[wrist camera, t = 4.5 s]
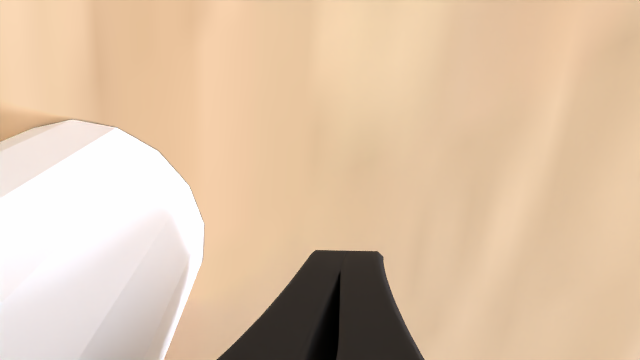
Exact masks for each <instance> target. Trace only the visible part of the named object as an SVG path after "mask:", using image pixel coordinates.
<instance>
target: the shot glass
mask: <svg viewBox="0 0 640 360" xmlns="http://www.w3.org/2000/svg"><path fill="white" fill-rule="evenodd" d="M203 236H204V223H203V221H202V218H201V216H200V213H199V210H198V208H197V205H196V203H195V200H194V197H193V195H192V192H191V190H190V187H189V185H188V184H187V183H186V182H185V181H184V180H183V179H182V178H181V176H180V175H179V174H178V173H177V172H176V171H175V170H174V169H173V167H172V166H171V165H170V164H169V163H168V162H167V161H166V160H165V158H164V157H163V156H162V155H161V154H160V153H159V152H158V151H157V150H155V149H153V148H151V147H150V146H148V145H146V144H144V143H143V142H141V141H139V140H138V139H136V138H134V137H132V136H131V135H129V134H127V133H125V132H124V131H122V130H120V129H118V128H116V127H111V126H105V125H100V124H94V123H89V122H83V121H78V120H72V119H71V120H67V121H63V122H58V123H54V124H49V125H45V126H41V127H36V128H32V129H30V130H27V131H25V132H22V133H20V134H18V135H15V136H13V137H11V138H8V139H6V140H3V141H1V142H0V360H164V357H165V355H166V352H167V350H168V347H169V344H170V342H171V339H172V337H173V334H174V332H175V329H176V327H177V324H178V321H179V319H180V316H181V314H182V311H183V309H184V306H185V304H186V301H187V298H188V296H189V293H190V291H191V288H192V286H193V283H194V280H195V278H196V275H197V273H198V270H199V268H200V265H201V263H202V256H203Z"/></svg>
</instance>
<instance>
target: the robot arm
mask: <svg viewBox="0 0 640 360" xmlns="http://www.w3.org/2000/svg"><path fill="white" fill-rule="evenodd" d="M217 360H424V358H423V356H422V355H421V353H420V351H419V349H418V347H417V346H416V344H415V342H414V340H413V338H412V337H411V335H410V333H409V331H408V329H407V327H406V325H405V323H404V320H403V318H402V316H401V314H400V311H399V309H398V307H397V305H396V303H395V300H394V298H393V295H392V292H391V290H390V287H389V284H388V281H387V277H386V274H385V269H384V263H383V256H382V255H381V254H380V253H379V252H378V251H329V250H315V251H314V252H313V253H312V254H311V255H310V256H309V258H308V259H307V260H306V262H305V263H304V264H303V266H302V267H301V268H300V270H299V271H298V272H297V274H296V275H295V276H294V278H293V279H292V280H291V281H290V283H289V284H288V285H287V286H286V288H285V289H284V290H283V291H282V292H281V294H280V295H279V296H278V297H277V298H276V299H275V301H274V302H273V303H272V304H271V305H270V306H269V308H268V309H267V310H266V311H265V312H264V313H263V314H262V315H261V317H260V318H259V319H258V320H257V321H256V322H255V323H254V324H253V325H252V326H251V327H250V328H249V329H248V330H247V331H246V332H245V333H244V334H243V335H242V336H241V337H240V338H239V339H238V340H237V341H236V342H235V343H234V344H233V345H232V346H231V347H230V348H229V349H228V350H227V351H226V352H225V353H224V354H222V355H221V356H220V357H219V358H218V359H217Z"/></svg>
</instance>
